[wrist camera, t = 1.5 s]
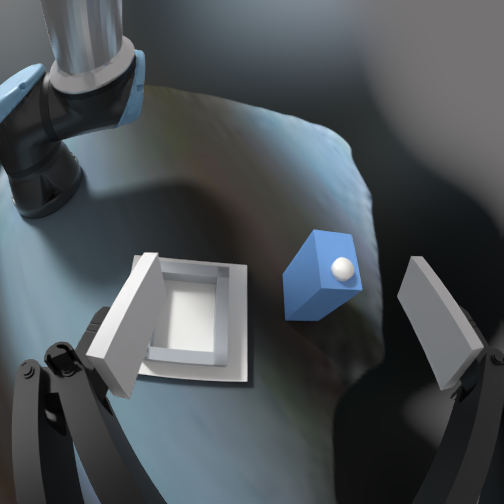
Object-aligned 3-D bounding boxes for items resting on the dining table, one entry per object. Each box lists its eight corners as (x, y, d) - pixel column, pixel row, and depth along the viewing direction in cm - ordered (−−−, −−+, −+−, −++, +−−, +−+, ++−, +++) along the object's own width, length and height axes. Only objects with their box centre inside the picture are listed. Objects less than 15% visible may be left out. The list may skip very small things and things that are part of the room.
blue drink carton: (282, 274, 41) (316, 224, 30) (313, 276, 42) (355, 230, 31) (285, 320, 37) (325, 284, 26) (318, 320, 38) (367, 286, 27)
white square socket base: (135, 258, 37) (131, 246, 34) (245, 268, 40) (250, 256, 37) (120, 370, 29) (112, 368, 26) (245, 381, 32) (251, 380, 29)
